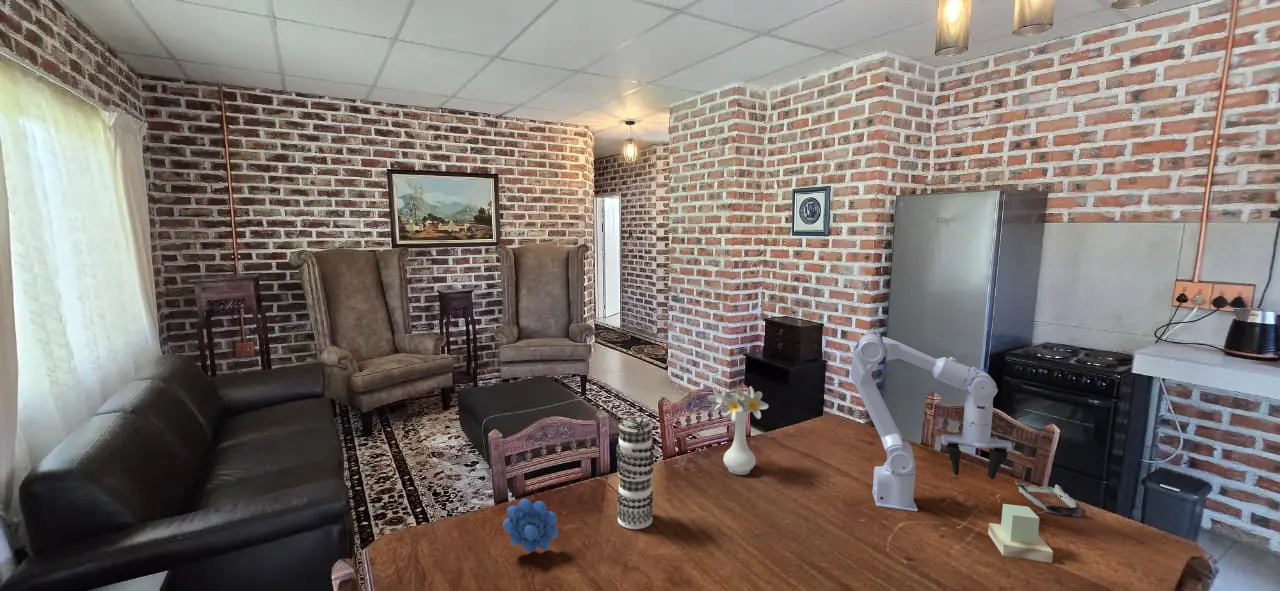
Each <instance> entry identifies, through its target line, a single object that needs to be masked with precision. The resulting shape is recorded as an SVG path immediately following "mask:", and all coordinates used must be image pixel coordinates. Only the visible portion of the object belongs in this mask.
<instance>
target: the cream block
mask: <svg viewBox="0 0 1280 591" xmlns="http://www.w3.org/2000/svg"><path fill="white" fill-rule="evenodd" d="M987 530H988V531H987V533H988V535H989V537H990V539H991V540H992V542H993V543H994V544H995V546H996V547H997V549H998V551H999V552H1000V554H1001V555H1002V556H1003V557H1009V558H1017V559H1021V560H1022V559H1024V560H1029V561H1035V562H1036V561H1038V562H1041V563H1043V562H1044V563H1051V564H1053V558H1054V557H1053V556H1054V551H1053V550H1052V548H1051V547H1050V546H1049V545H1048V543H1046V541H1045V540H1044V539H1043V537H1041V535H1040V533H1038V539H1037V545H1035V544H1027V543H1020V542H1012V541H1010V540H1009V539H1008V538H1007V536H1006V535H1005V534H1004V533H1003V531H1002V530H1001V523H1000V524H999V523H993V522H988V529H987Z"/></svg>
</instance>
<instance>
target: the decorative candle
mask: <svg viewBox="0 0 1280 591" xmlns="http://www.w3.org/2000/svg"><path fill="white" fill-rule="evenodd" d="M617 427H618V428H619V436H618V444H617V445H616V449H615V450H616V454H615V457H617V461H616V466H617V468H616V471H617V475H618V477H619V484H618V489H617V490H618V491H617V493H616V496H618V497H617V500H616V501H617V506H616V509H617V513H616V515H617V522H618V524H619V525H620V526H622V527H624V528H626V529H629V530H640V529H645V528H647V527H649V526H650V525H651V524H652V523H653V513H654V511H653V510H654V509H653V507H654V505H653V500H654V499H653V496H654V495H653V494H654V491H652V490H653V489H652V485H653V484H652V477H653V475H654V468H653V467H652V466H653V465H654V463H655V460H654V459H653V458H655V454H654V452H652V451H655V449H656V448H655V447H656V446H655V445H654V442H655V440H653V437H652V428H653V423H652V422H650V421H649V420H648V419H647V418H646V417H644V416H641V415H640V416H639V415H631V416H627V417H625V418H623V419H622V421H621V422H619V423H618V425H617Z"/></svg>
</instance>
